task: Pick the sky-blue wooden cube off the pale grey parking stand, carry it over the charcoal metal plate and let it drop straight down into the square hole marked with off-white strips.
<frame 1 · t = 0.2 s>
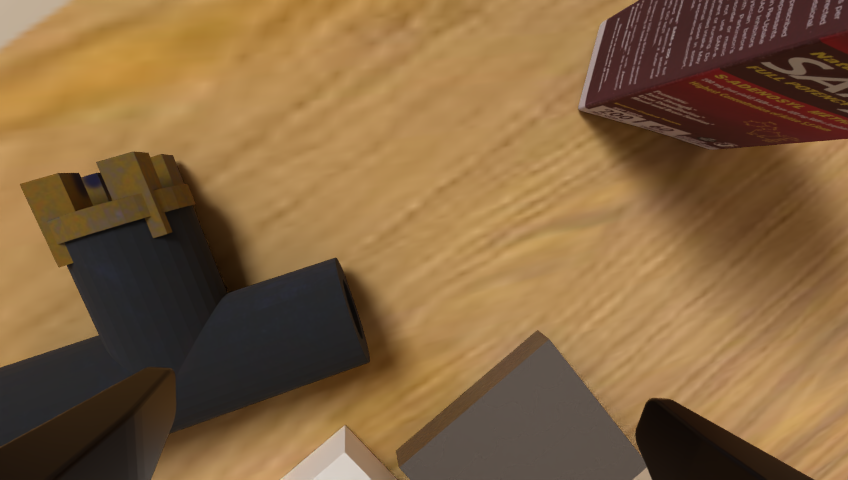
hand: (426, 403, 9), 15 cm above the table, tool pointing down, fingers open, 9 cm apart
supplement box: (655, 92, 25), on the table
pipe connector: (183, 283, 23), on the table
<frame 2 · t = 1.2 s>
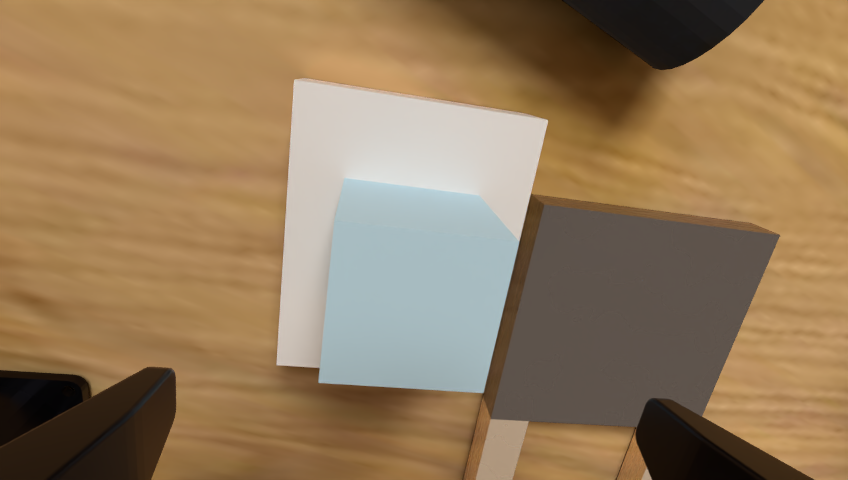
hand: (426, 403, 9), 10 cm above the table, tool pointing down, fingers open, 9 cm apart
plate: (581, 406, 22), on the table
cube: (403, 250, 16), point 2 cm above the table, touching parking stand
parking stand: (399, 227, 18), on the table
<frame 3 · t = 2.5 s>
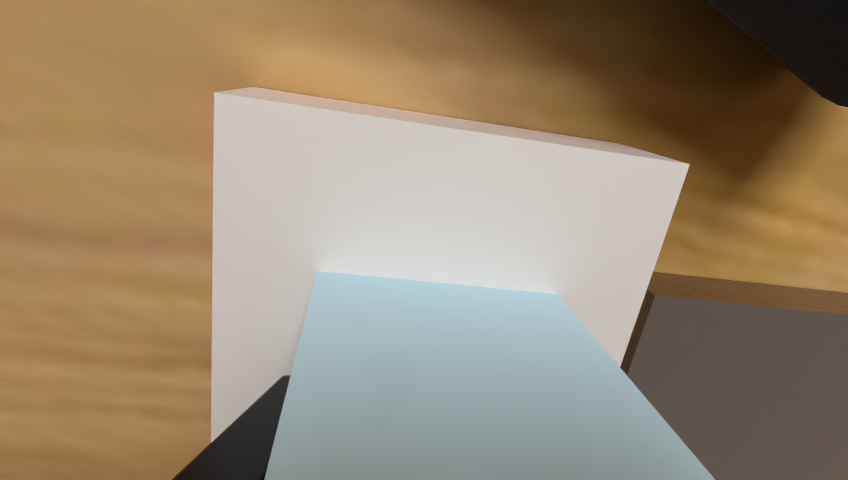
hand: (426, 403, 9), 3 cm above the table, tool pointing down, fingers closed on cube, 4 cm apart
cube: (423, 386, 9), point 3 cm above the table, touching gripper, parking stand
parking stand: (412, 322, 12), on the table
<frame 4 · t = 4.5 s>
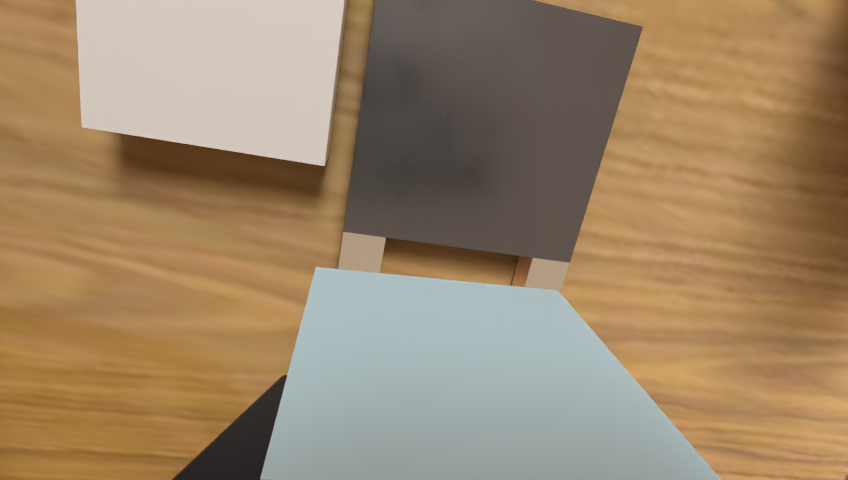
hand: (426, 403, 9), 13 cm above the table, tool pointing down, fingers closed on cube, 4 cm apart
plate: (453, 241, 21), on the table
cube: (422, 382, 9), point 12 cm above the table, touching gripper
parking stand: (235, 0, 17), on the table
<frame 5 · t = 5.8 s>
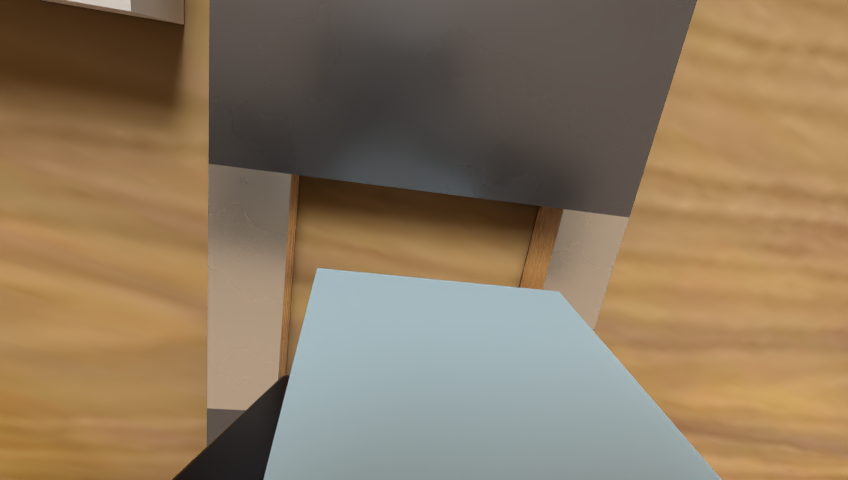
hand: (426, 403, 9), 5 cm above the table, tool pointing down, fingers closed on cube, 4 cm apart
plate: (425, 187, 12), on the table
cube: (424, 383, 9), point 4 cm above the table, touching gripper
when the fingers open (2 cm above the table, at t = 6.6 s): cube drops 2 cm, resting in plate.
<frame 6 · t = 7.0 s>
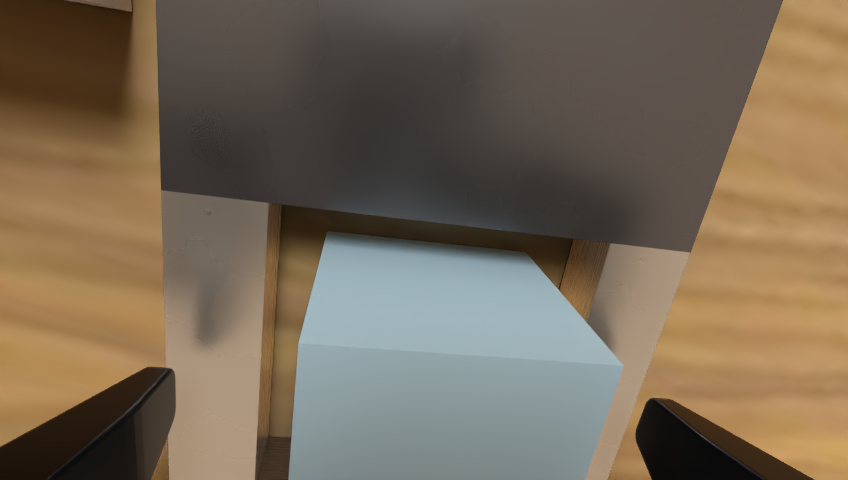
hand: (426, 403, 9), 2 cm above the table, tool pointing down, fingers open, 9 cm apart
plate: (436, 213, 10), on the table
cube: (414, 328, 11), resting in plate
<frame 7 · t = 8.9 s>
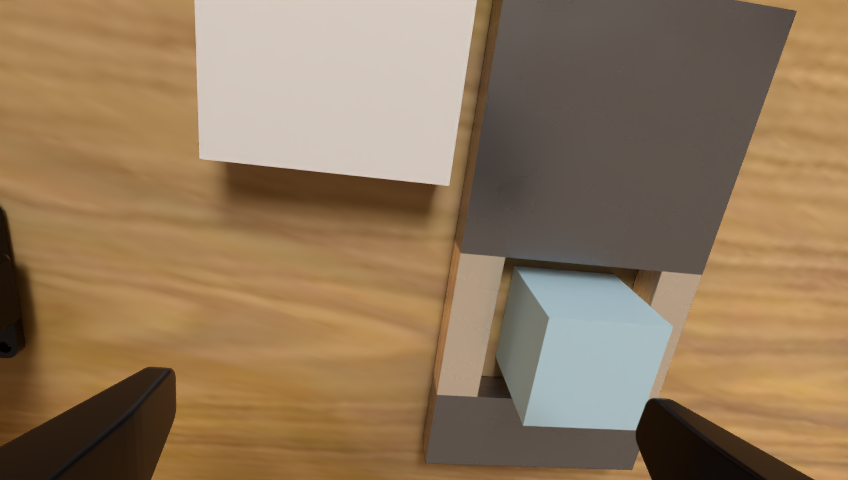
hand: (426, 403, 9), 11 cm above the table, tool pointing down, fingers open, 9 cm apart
plate: (569, 256, 20), on the table
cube: (552, 315, 21), resting in plate
parking stand: (345, 13, 16), on the table
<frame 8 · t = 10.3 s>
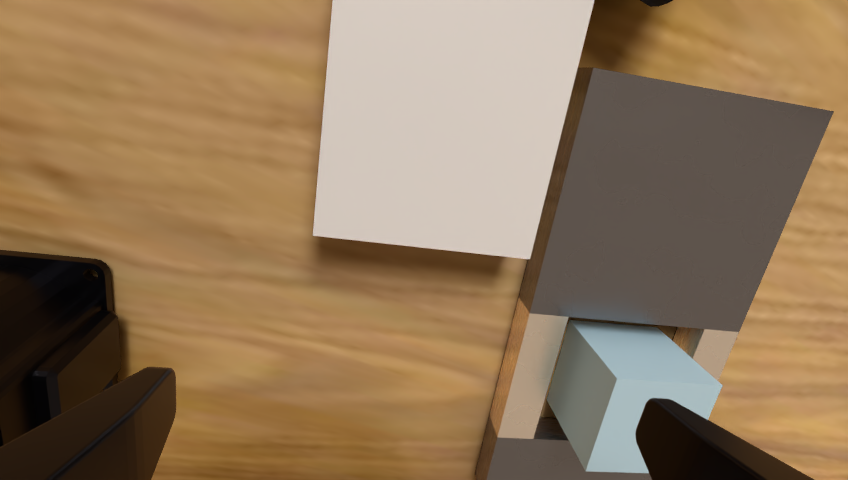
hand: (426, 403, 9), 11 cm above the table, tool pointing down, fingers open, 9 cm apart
plate: (619, 311, 22), on the table
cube: (600, 363, 23), resting in plate
parking stand: (438, 101, 18), on the table
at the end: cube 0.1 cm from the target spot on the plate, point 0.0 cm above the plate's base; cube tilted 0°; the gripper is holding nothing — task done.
